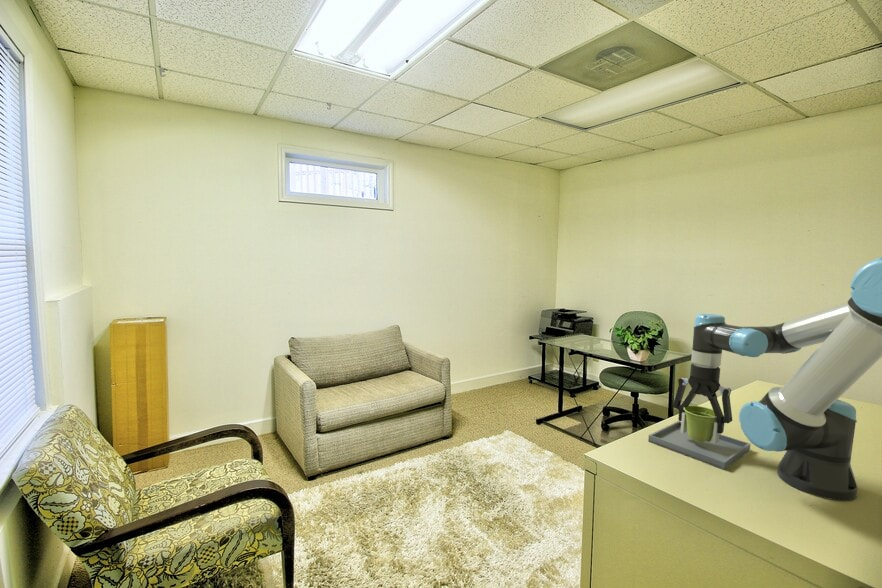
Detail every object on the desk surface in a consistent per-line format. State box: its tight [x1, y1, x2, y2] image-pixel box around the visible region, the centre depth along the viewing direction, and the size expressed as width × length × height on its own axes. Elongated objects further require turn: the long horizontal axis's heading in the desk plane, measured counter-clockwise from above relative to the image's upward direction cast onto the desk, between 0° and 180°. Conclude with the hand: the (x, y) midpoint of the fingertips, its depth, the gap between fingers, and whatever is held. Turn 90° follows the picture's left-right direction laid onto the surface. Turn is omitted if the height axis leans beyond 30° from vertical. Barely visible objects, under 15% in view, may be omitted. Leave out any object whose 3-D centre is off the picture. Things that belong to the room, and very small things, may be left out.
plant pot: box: [684, 405, 717, 442], centre depth 124 cm, size 9×9×9 cm
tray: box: [647, 420, 752, 471], centre depth 125 cm, size 21×21×2 cm
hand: (699, 437), depth 125 cm, fingers closed on plant pot, 8 cm apart
